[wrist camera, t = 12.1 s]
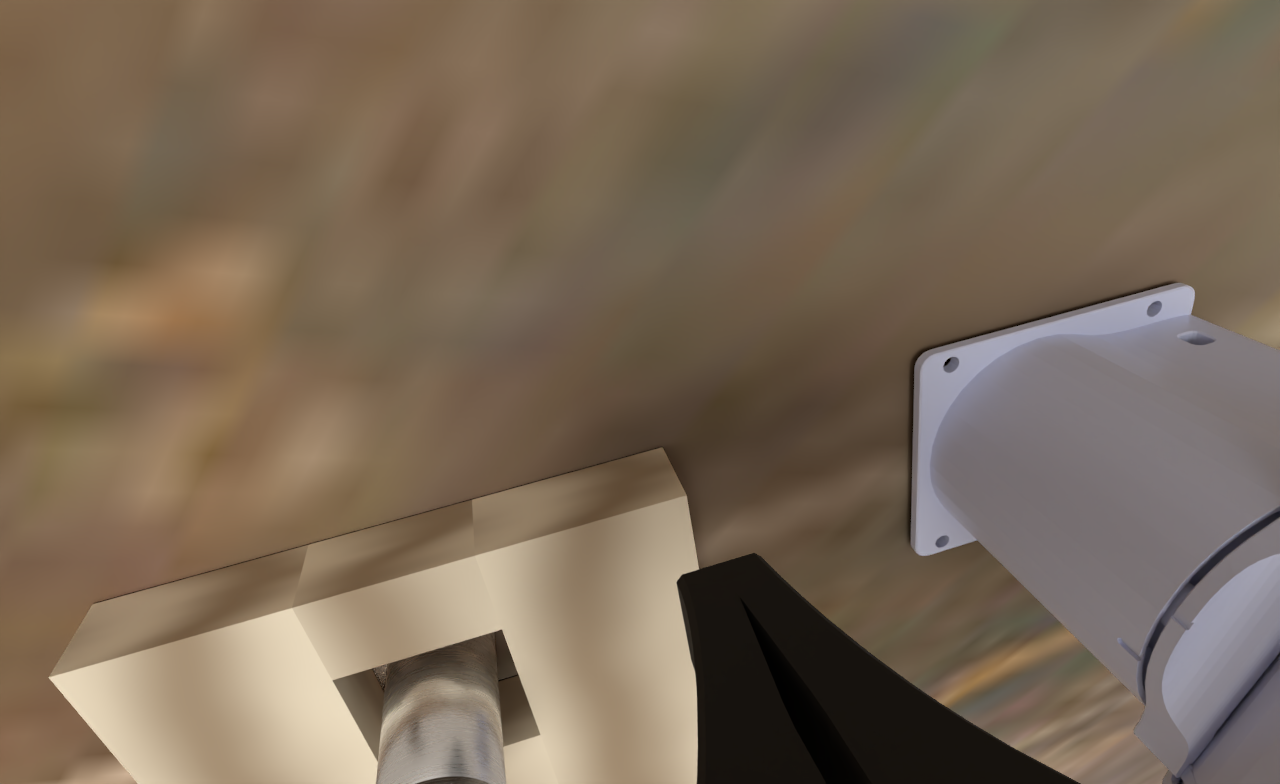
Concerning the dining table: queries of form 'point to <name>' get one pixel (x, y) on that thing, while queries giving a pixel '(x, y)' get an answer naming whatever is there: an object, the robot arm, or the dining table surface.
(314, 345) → the dining table surface
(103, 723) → the block
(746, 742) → the robot arm
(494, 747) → the steel pin
